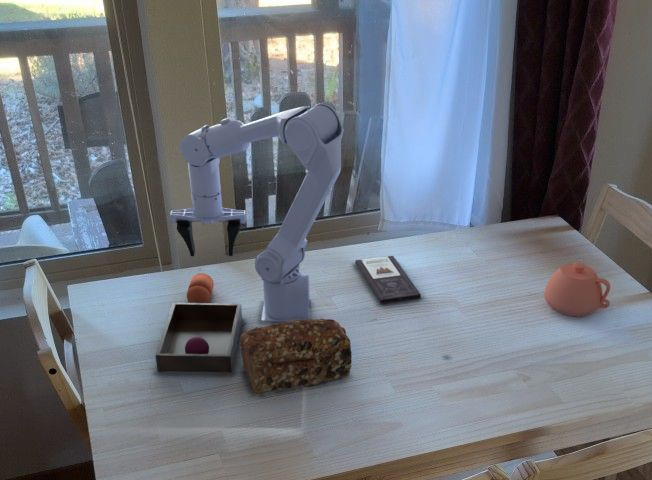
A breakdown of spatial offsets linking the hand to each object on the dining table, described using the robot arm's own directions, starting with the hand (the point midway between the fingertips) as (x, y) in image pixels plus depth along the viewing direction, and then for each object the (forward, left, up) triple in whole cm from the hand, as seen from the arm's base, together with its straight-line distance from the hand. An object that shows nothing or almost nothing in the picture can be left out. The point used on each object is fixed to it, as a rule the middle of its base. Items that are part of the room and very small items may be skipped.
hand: (212, 253), depth 169 cm
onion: (0, +25, -9) cm, 26 cm away
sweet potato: (+3, +3, -9) cm, 10 cm away
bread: (-18, +28, -10) cm, 35 cm away
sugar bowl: (-76, +3, -10) cm, 77 cm away
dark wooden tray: (0, +20, -9) cm, 22 cm away
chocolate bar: (-36, -7, -9) cm, 38 cm away
